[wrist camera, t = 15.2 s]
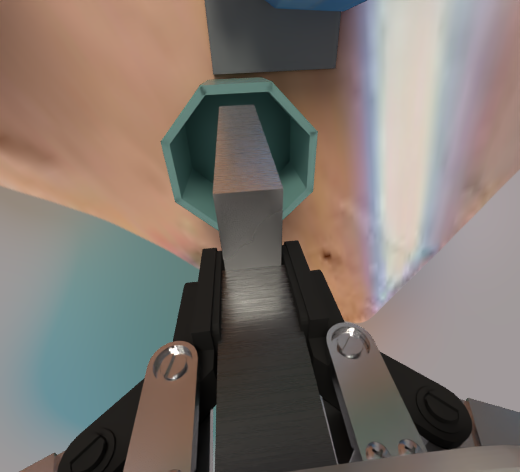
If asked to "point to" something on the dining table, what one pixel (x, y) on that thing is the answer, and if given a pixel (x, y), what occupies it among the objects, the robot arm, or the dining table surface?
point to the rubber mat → (270, 37)
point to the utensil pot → (205, 138)
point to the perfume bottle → (315, 4)
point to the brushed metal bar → (259, 318)
